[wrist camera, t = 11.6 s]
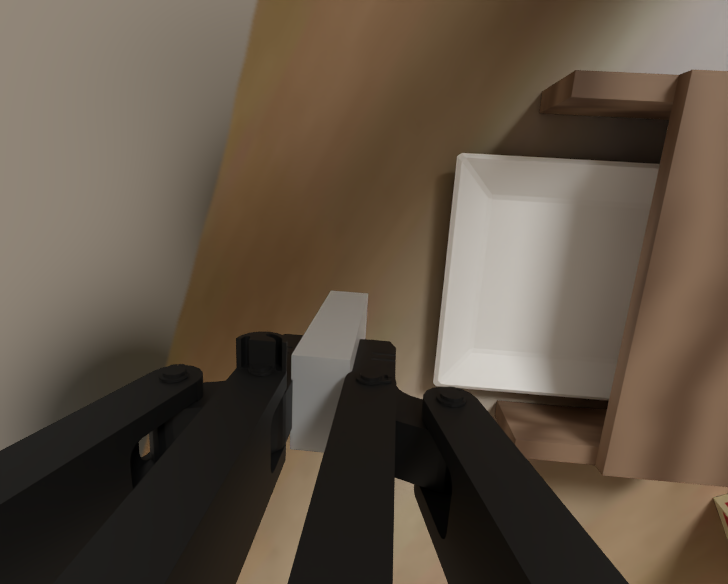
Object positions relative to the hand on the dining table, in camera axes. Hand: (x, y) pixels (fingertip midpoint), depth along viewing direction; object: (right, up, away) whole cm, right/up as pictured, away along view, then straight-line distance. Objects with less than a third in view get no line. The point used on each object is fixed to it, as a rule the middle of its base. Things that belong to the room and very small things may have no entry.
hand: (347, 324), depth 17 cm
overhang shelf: (+21, +3, +17) cm, 27 cm away
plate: (+16, +2, +18) cm, 25 cm away
